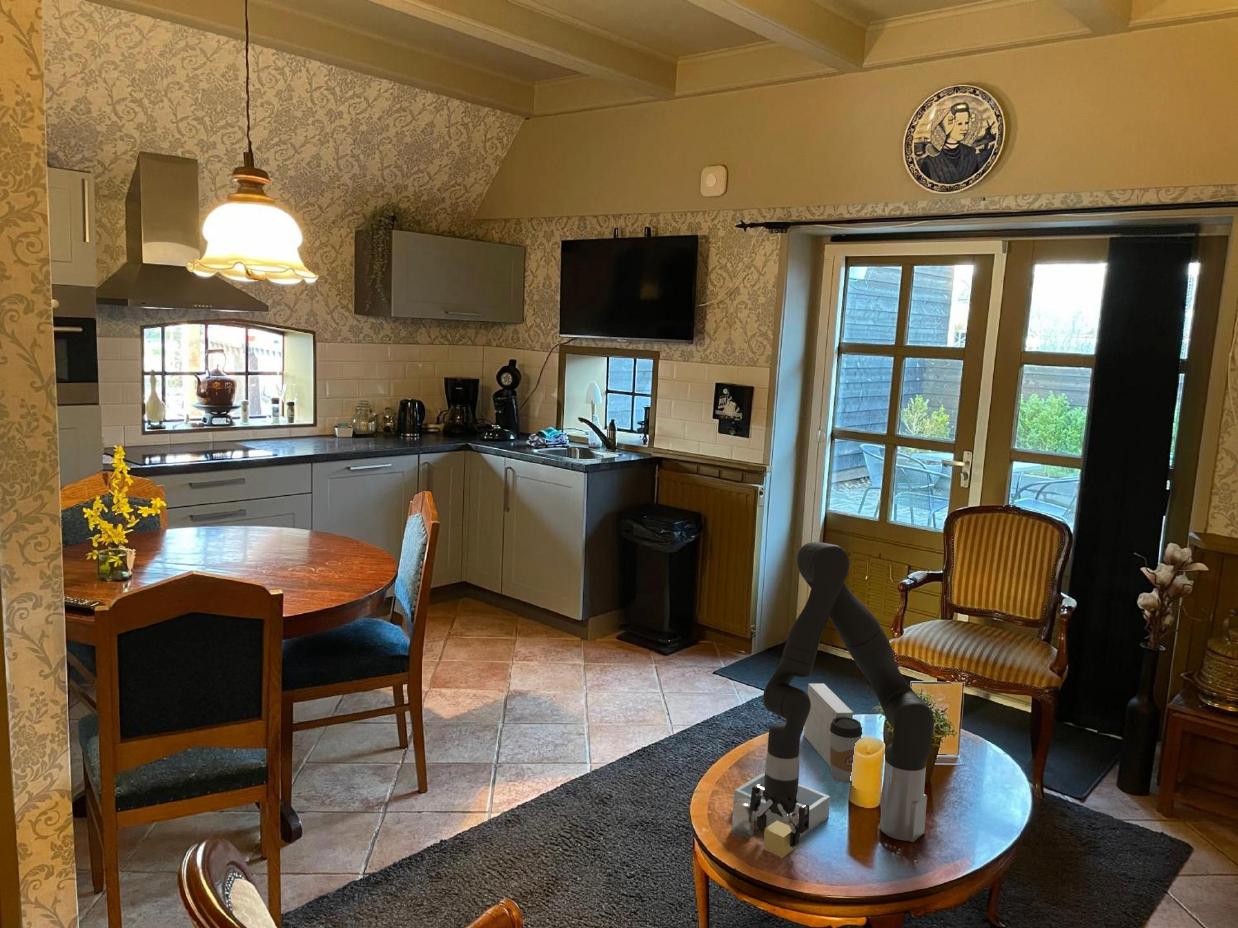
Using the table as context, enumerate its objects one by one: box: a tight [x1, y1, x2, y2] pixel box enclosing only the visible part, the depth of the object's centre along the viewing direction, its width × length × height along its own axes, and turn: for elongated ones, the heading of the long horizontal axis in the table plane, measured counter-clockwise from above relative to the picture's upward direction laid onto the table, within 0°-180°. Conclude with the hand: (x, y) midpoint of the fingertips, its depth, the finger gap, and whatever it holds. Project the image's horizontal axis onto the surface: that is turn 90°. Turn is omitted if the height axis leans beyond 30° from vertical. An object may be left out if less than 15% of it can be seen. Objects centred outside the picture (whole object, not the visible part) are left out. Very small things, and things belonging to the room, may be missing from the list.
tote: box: [733, 771, 831, 839], centre depth 224 cm, size 18×14×6 cm
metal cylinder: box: [731, 798, 755, 839], centre depth 216 cm, size 5×5×7 cm
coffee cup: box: [830, 717, 863, 783], centre depth 243 cm, size 8×8×15 cm
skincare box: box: [803, 683, 854, 768], centre depth 258 cm, size 21×5×16 cm, turn 9°
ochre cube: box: [763, 821, 796, 859], centre depth 209 cm, size 5×5×5 cm
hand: (777, 838), depth 210 cm, fingers open, 8 cm apart
